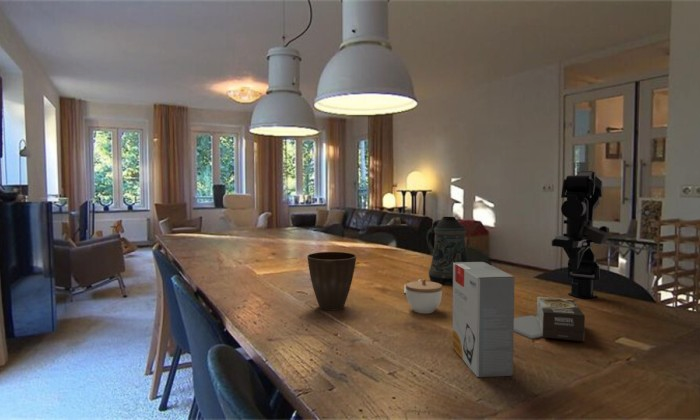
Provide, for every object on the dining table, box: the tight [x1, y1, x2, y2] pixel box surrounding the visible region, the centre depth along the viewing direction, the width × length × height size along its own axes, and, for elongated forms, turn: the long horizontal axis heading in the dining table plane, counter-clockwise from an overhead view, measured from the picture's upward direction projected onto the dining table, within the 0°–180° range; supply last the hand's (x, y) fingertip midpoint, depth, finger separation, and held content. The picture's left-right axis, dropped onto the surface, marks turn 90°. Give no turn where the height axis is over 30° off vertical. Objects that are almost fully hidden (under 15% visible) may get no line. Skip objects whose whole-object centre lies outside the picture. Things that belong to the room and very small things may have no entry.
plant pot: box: [306, 251, 357, 311], centre depth 133 cm, size 15×15×16 cm
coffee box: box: [536, 296, 586, 342], centre depth 110 cm, size 9×6×16 cm
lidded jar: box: [405, 278, 443, 314], centre depth 129 cm, size 11×11×9 cm
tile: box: [514, 314, 544, 340], centre depth 114 cm, size 14×14×1 cm
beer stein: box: [426, 216, 469, 286], centre depth 170 cm, size 16×19×25 cm
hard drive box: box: [451, 261, 515, 378], centre depth 91 cm, size 16×8×20 cm, turn 5°
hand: (575, 268), depth 131 cm, fingers closed
